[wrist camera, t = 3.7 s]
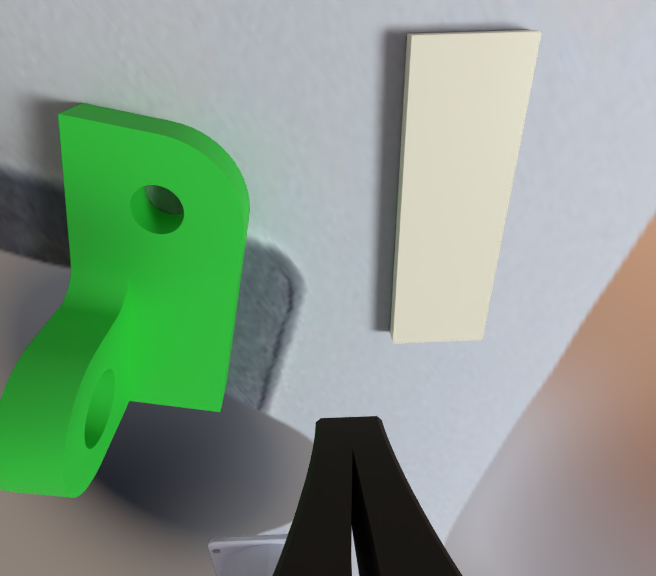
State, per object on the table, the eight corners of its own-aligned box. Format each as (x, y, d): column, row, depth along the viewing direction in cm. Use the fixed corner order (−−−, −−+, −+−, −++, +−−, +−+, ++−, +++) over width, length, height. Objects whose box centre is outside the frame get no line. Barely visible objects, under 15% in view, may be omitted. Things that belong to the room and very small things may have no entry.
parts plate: (476, 328, 21) (482, 339, 20) (390, 332, 21) (392, 343, 20) (531, 29, 15) (541, 31, 14) (407, 33, 15) (411, 35, 14)
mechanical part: (226, 381, 23) (191, 543, 16) (99, 364, 22) (5, 527, 15) (260, 138, 17) (225, 233, 10) (85, 101, 16) (-85, 178, 9)
